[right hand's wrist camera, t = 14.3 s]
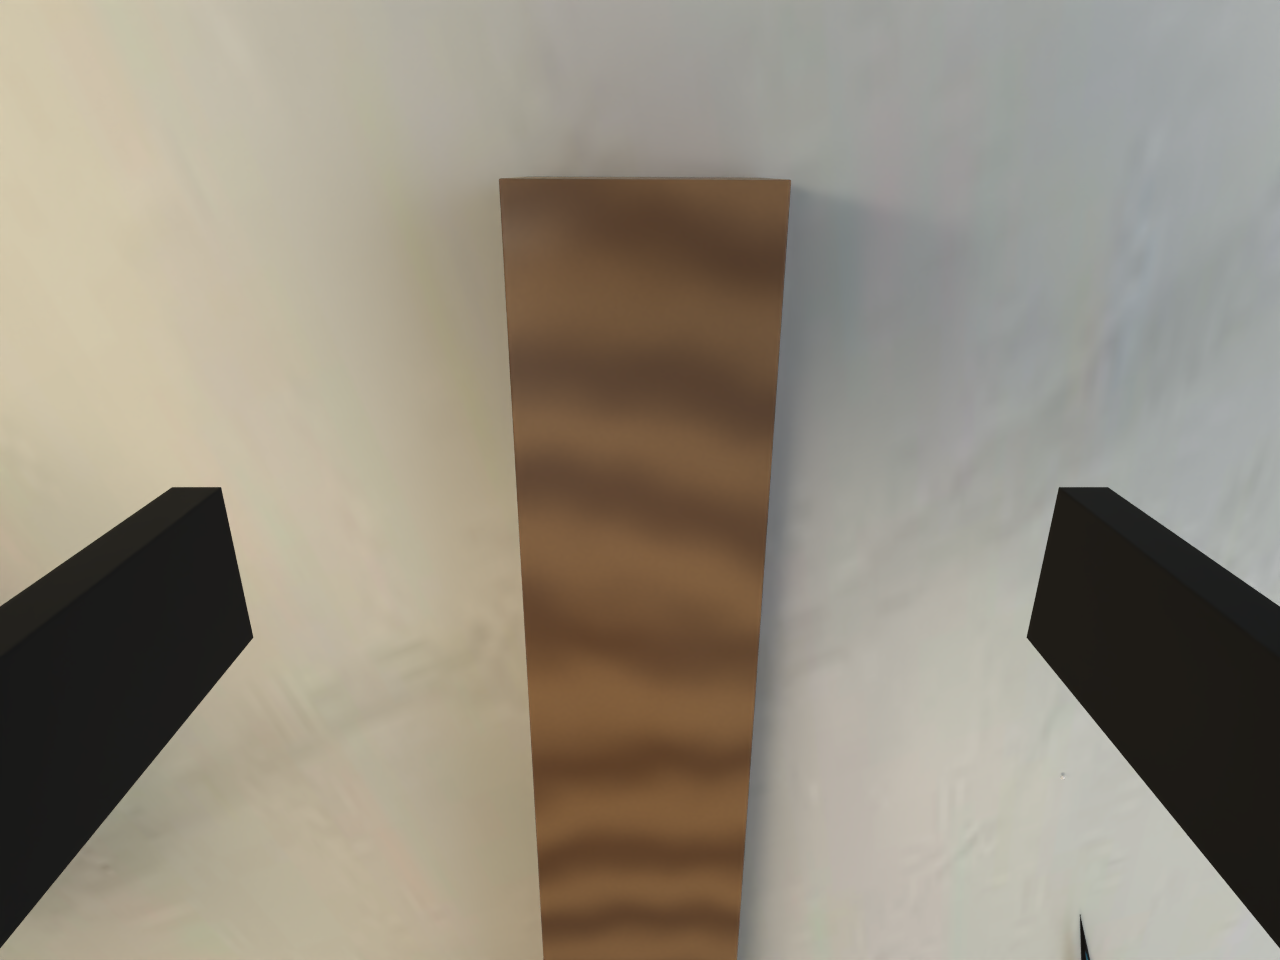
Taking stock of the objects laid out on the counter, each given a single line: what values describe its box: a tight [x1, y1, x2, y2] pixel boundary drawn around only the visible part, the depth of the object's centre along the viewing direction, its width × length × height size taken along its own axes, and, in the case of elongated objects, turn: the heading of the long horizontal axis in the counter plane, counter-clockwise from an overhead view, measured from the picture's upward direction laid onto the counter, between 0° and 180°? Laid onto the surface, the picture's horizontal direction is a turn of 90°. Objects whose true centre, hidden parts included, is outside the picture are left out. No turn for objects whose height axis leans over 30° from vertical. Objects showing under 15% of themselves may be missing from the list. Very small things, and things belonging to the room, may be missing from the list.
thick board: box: [499, 177, 791, 960], centre depth 40 cm, size 57×10×7 cm, turn 0°
